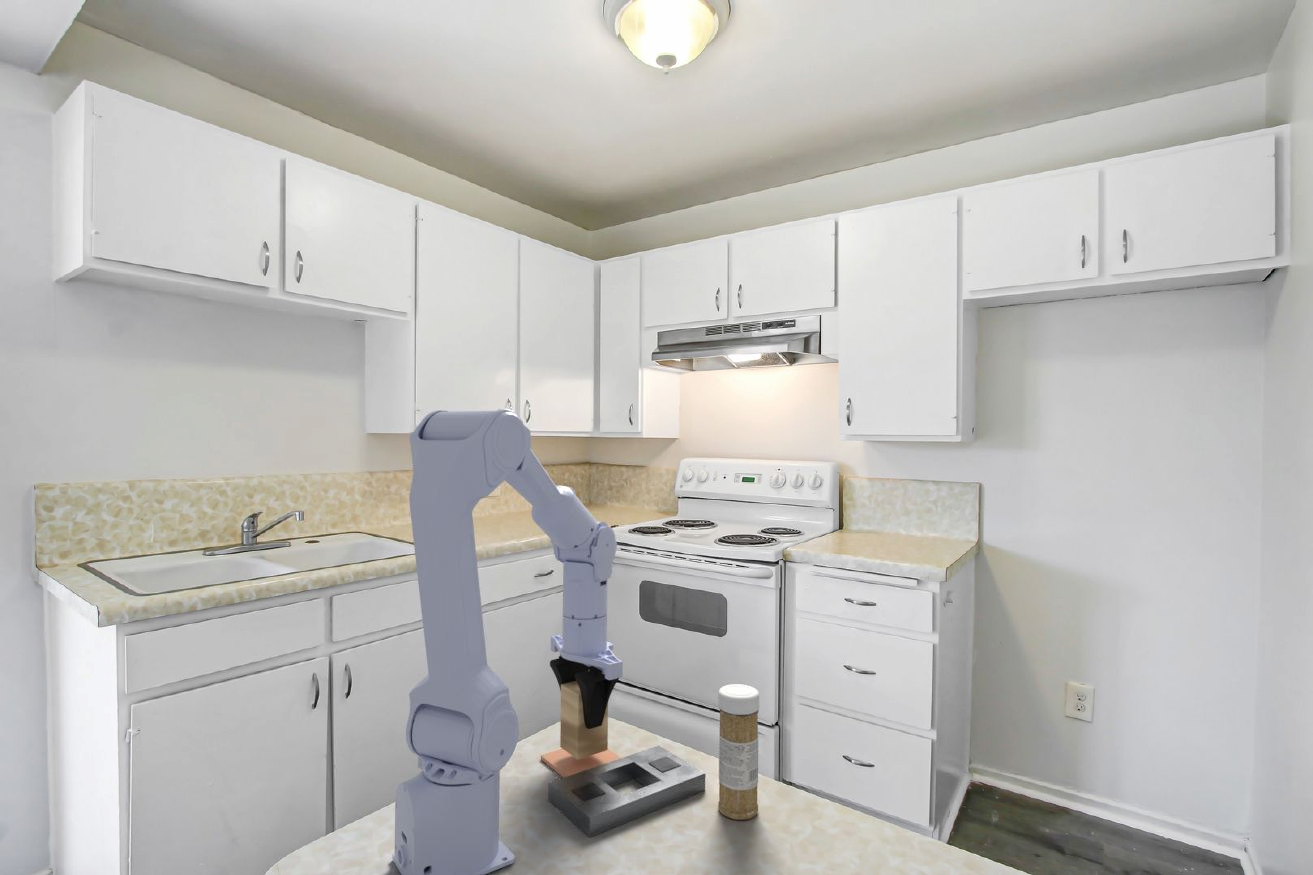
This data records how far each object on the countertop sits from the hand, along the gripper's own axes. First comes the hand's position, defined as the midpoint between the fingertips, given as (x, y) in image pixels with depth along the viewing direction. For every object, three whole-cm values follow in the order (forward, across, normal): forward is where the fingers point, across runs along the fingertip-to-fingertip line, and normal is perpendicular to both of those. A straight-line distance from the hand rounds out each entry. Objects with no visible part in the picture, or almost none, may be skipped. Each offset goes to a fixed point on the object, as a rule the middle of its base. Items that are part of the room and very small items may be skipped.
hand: (583, 719), depth 85 cm
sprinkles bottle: (+6, -20, -8) cm, 22 cm away
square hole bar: (+5, -10, 0) cm, 11 cm away
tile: (+5, 0, 0) cm, 5 cm away
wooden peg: (+4, 0, 0) cm, 4 cm away
